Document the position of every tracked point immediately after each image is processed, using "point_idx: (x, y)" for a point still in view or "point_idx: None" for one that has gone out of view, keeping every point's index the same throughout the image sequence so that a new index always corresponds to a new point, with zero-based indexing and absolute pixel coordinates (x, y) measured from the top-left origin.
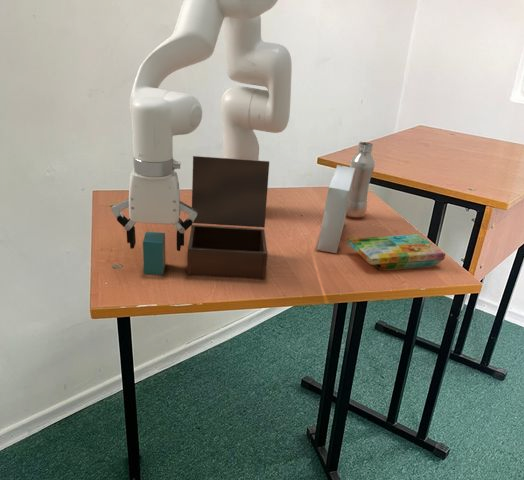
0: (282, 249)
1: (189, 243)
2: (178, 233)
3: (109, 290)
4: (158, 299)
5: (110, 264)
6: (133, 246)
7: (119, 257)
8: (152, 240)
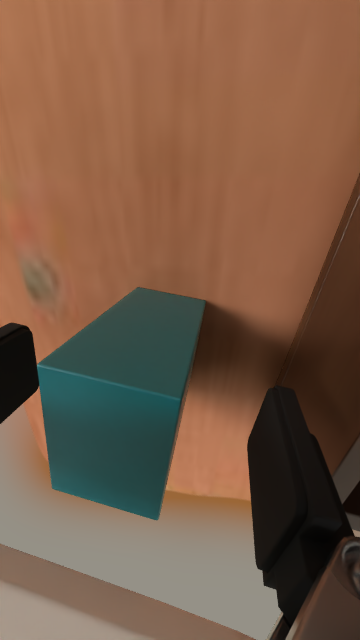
0: None
1: (345, 467)
2: (274, 584)
3: None
4: (170, 471)
5: (14, 262)
6: (30, 395)
7: (26, 194)
8: (99, 488)
